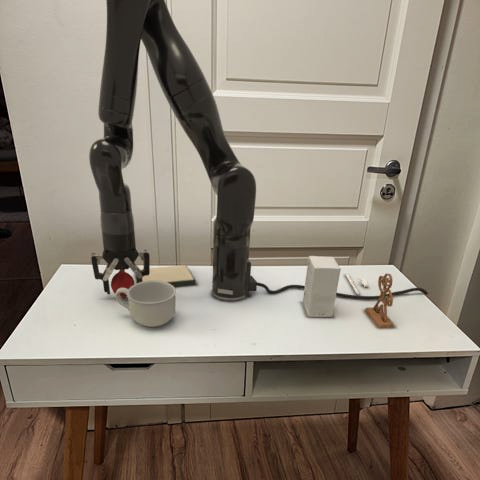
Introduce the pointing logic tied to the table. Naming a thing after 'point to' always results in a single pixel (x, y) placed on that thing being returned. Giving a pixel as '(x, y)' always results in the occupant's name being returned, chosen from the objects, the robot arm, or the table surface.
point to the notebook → (171, 275)
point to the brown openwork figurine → (377, 312)
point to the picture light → (353, 284)
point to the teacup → (149, 302)
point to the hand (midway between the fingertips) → (123, 291)
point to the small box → (321, 286)
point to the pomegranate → (122, 281)
